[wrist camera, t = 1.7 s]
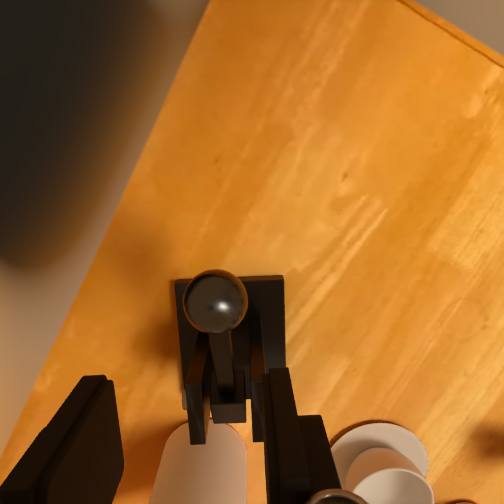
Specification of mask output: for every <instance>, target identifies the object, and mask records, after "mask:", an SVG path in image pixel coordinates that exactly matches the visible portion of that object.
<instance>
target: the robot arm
mask: <svg viewBox="0 0 504 504" xmlns="http://www.w3.org/2000/svg"><path fill="white" fill-rule="evenodd" d="M262 399H263V427H264V455H265V475H266V492H267V504H369V503H368V502H366V501H365V500H364V499H363V498H362V497H361V496H359V495H357V494H355V493H353V492H351V491H347V490H342V487H341V484H340V480H339V477H338V473H337V470H336V466H335V462H334V459H333V455H332V452H331V448H330V445H329V441H328V438H327V434H326V431H325V427H324V424H323V420H322V417H321V415H303V416H298V415H297V410H296V405H295V400H294V395H293V389H292V384H291V379H290V374H289V369H288V367H286V368H269V373H268V374H262ZM123 470H124V457H123V450H122V442H121V435H120V427H119V420H118V412H117V405H116V397H115V390H114V384H113V381H112V380H107V378H106V376H105V375H91V376H83V377H82V378H81V379H80V381H79V382H78V384H77V385H76V386H75V388H74V389H73V390H72V392H71V393H70V395H69V396H68V397H67V399H66V400H65V401H64V403H63V404H62V406H61V407H60V408H59V410H58V411H57V412H56V414H55V415H54V417H53V418H52V419H51V421H50V422H49V423H48V425H47V426H46V427H45V428H44V429H43V430H42V431H41V432H40V433H39V434H38V436H37V437H36V438H35V440H34V441H33V443H32V444H31V445H30V447H29V448H28V449H27V451H26V452H25V454H24V455H23V456H22V458H21V459H20V460H19V462H18V463H17V464H16V466H15V467H14V469H13V470H12V471H11V473H10V474H9V475H8V477H7V478H6V479H5V481H4V482H3V484H2V485H1V486H0V504H112V501H113V499H114V496H115V494H116V491H117V488H118V486H119V483H120V481H121V478H122V475H123Z"/></svg>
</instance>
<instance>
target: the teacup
mask: <svg viewBox="0 0 504 504" xmlns="http://www.w3.org/2000/svg"><path fill="white" fill-rule="evenodd" d="M331 452H332V455H333V459H334V462H335V466H336V470H337V473H338V477H339V480H340V484H341V487H342V490H347V491H351V492H353V493H355V494H357V495H359V496H361V497H362V498H363V499H364V500H365V501H366V502H368V503H369V504H434V494H433V490H432V488H431V486H430V484H429V483H428V481H427V480H426V479H425V478H426V475H427V472H428V455H427V452H426V449H425V447H424V445H423V443H422V442H421V441H420V439H419V438H418V437H417V436H416V435H415V434H413V433H412V432H411V431H409V430H407V429H405V428H403V427H401V426H398V425H394V424H388V423H373V424H367V425H363V426H360V427H357V428H355V429H353V430H351V431H349V432H348V433H346V434H345V435H343V436H342V437H341V438H340V439H339V440H338V441H337V442H336V443H335V444H334V445H333V446H332V448H331Z"/></svg>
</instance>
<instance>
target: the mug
mask: <svg viewBox="0 0 504 504" xmlns="http://www.w3.org/2000/svg"><path fill="white" fill-rule="evenodd" d="M149 504H247V451H246V446H245V443H244V442H243V440H242V438H241V436H240V435H239V434H238V433H237V432H236V431H235V430H234V429H233V428H232V427H230V426H229V425H227V424H225V423H224V424H214V423H213V419H209V424H208V432H207V439H206V444H204V445H190V436H189V425H188V422H187V423H185V424H183V425H181V426H180V427H179V428H177V429H176V430H175V431H174V432H172V434H171V435H170V437H169V438H168V439H167V441H166V444H165V447H164V450H163V454H162V457H161V461H160V465H159V468H158V472H157V475H156V479H155V483H154V486H153V490H152V493H151V497H150V501H149Z"/></svg>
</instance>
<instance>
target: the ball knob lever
mask: <svg viewBox="0 0 504 504" xmlns="http://www.w3.org/2000/svg"><path fill="white" fill-rule="evenodd" d="M247 307H248V297H247V292H246V289H245V287H244V285H243V284H242V282H241V281H240V280H239V279H238V278H237V277H236V276H235V275H233V274H232V273H230V272H227V271H224V270H219V269H212V270H207V271H204V272H202V273H200V274H198V275H197V276H195V277H194V278H193V279H192V280H191V281H190V283H189V284H188V286H187V287H186V290H185V292H184V296H183V308H184V312H185V315H186V317H187V319H188V320H189V322H190V323H191V324H192V325H193V326H194V327H195V328H196V329H198V330H200V331H202V332H204V333H207V334H209V340H210V346H211V352H212V357H213V363H214V369H215V371H211V385H210V409H211V414H212V418H213V423H214V424H224V423H246V388H245V374H244V370H243V369H241V370H235V367H234V358H233V348H232V339H231V330H232V329H234V328H235V327H236V326H237V325H238V324H239V323H240V322H241V321H242V319H243V318H244V316H245V314H246V311H247Z"/></svg>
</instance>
